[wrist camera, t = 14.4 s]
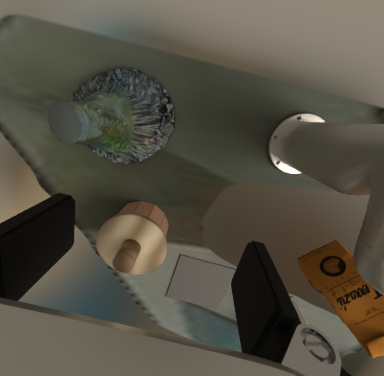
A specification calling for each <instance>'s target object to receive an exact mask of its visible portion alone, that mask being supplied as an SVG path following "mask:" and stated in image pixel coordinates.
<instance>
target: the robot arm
mask: <svg viewBox="0 0 384 376" xmlns="http://www.w3.org/2000/svg"><path fill="white" fill-rule="evenodd" d="M297 117H298V119H297ZM274 136H276V137H275V138H274ZM268 152H269V156H270V159H271V161H272V163H273V164H274V165H275V166H276V167H277V168H278V169H280V170H281V171H283V172H286V173H290V174H300V173H303V174H304V175H306V176H308V177H310V178H312V179H314V180H316V181H318V182H320V183H321V184H323V185H325V186H327V187H329V188H331V189H333V190H335V191H337V192H340V193H343V194H347V195H355V196H361V195H370V197H369V201H368V203H367V210H366V213H365V216H364V219H363V222H362V226H361V229H360V232H359V235H358V238H357V241H356V245H355V249H354V255H353V259H354V264H355V268H356V270H357V271H358V273H359V274H360V276H361V277H362V278H363V279H364V280H365V281H366V282H367V283H368V284H369V285H370V286H372V287H373V288H374V289H375V290H377V291H378V292H380V293H381V294H383V295H384V124H356V123H329V122H325V121H324V120H323V119H322V118H320V117H318V116H316V115H313V114H306V113H303V114H296V115H293V116H291V117H288V118H286V119H285V120H284V121H282V122H281V123H280V124H279V125H278V126H277V127H276V128H275V130H274V131H273V133H272V135H271V137H270V140H269V146H268ZM276 162H277V163H276ZM74 225H75V200H74V199H73V198H72V196H70V195H66V194H62V193H58V194H56V195H54V196H52V197H50V198H48V199H46V200H44V201H42V202H41V203H39V204H37V205H35V206H33V207H31V208H29V209H27V210H25V211H23V212H21V213H19V214H17V215H16V216H14V217H12V218H10V219H8V220H6V221H4V222H2V223H1V224H0V376H351V375H350V374H348V373H347V372H346V371H345V370H344V369H343V368H342V367H341V358H340V355H339V353H338V350H337V349H336V347H335V346H334V344H333V343H332V342H331V340H330V339H329V338H328V337H327V336H326V335H325V334H324V333H323V332H321V331H320V330H318V329H317V328H315V327H314V326H311V325H309V324H304V323H303V324H302V323H301V321H300V319H299V317H298V313H297V311H296V309H295V307H294V305H293V303H292V301H291V299H290V297H289V295H288V293H287V291H286V288H285V287H284V284H283V283H282V280H281V278H280V276H279V274H278V272H277V270H276V268H275V266H274V264H273V261H272V259H271V257H270V255H269V253H268V251H267V249H266V247H265V245H264V244H263V243H260V242H255V241H252V242H251V243H248V244H247V246H246V248H245V250H244V253H243V255H242V257H241V260H240V262H239V264H238V267H237V269H236V271H235V274H234V276H233V278H232V282H231V288H232V294H233V300H234V306H235V312H236V318H237V324H238V330H239V336H240V342H241V349H242V353H241V352H237V351H233V350H229V349H225V348H221V347H217V346H213V345H209V344H205V343H200V342H196V341H192V340H187V339H183V338H179V337H175V336H170V335H166V334H162V333H157V332H153V331H148V330H144V329H140V328H135V327H131V326H127V325H122V324H118V323H113V322H109V321H104V320H100V319H96V318H91V317H87V316H82V315H78V314H73V313H68V312H64V311H60V310H55V309H50V308H46V307H41V306H37V305H33V304H28V303H23V302H19V301H18V300H19V299H20V298H21V297H22V296H23V295H24V294H25V293H26V292H27V291H28V290H29V289H30V288H31V287H32V286H33V285H34V284H35V283H36V282H37V281H38V280H39V279H40V278H41V277H42V276H43V275H44V274H45V273H46V272H47V271H48V270H49V269H50V268H51V267H52V266H53V265H54V264H55V263H56V262H57V261H59V259H61V257H62V256H64V255H65V253H67V252H68V250H70V249H71V247H72V246H73V243H74Z"/></svg>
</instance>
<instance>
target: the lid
mask: <svg viewBox="0 0 384 376" xmlns="http://www.w3.org/2000/svg"><path fill="white" fill-rule="evenodd" d="M96 246H97V250H98V252H99V254H100V256H101V257H102V259H103V260H104V261H105V262H106V263H107V264H108V265H109V266H111V267H112V268H114V269H115V270H117V271H120V272H123V273H126V274H133V275H139V274H145V273H148V272H151V271H153V270H155V269H156V268H157V267H159V266H160V265H161V263H162V262H163V260H164V258H165V256H166V252H167V239H166V236H165V234H164V232H163V230H162V229H161V228H160V226H159V225H158V224H157V223H155V222H154V221H153V220H151V219H150V218H148V217H145V216H143V215H140V214H135V213H123V214H119V215H116V216H113V217H111V218H110V219H108V220H107V221H106V222H105V223H104V224H103V225H102V227H101V228H100V230H99V231H98V234H97V237H96Z"/></svg>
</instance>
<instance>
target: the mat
mask: <svg viewBox="0 0 384 376" xmlns="http://www.w3.org/2000/svg"><path fill="white" fill-rule="evenodd" d="M235 271H236V269H233V268H229V267H226V266H222V265H218V264H215V263H211V262H207V261H203V260H200V259H196V258H192V257H188V256H185V255H180V258H179V261H178V264H177V267H176V269H175V272H174V275H173V278H172V281H171V283H170V286H169V289H168V292H167V295H166V297H169V298H173V299H177V300H181V301H185V302H189V303H193V304H197V305H201V306H205V307H209V308H213V309H217V307H218V305H219V303H220V301H221V299H222V297H223V295H224V293H225V291H226V289H227V287H228V285H229V283H230V281H231V279H232V277H233V275H234V273H235Z"/></svg>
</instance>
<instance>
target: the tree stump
mask: <svg viewBox="0 0 384 376" xmlns="http://www.w3.org/2000/svg"><path fill="white" fill-rule="evenodd" d="M73 96H74V99H73V100H72V101H64V100H58V101H55V102H53V103H52V104H51V106H50V108H49V112H48V121H49V125H50V129H51V131H52V133H53V134H54V135H55V136H56V137H57V138H58V139H59V140H60V141H61V142H63V143H66V144H83V145H88V146H89V147H90V148H91V149H92V150H93V152H96V153H97V155H98V156H104V157H105V158H107V159H108V160H110V161H112V162H115V163H116V162H118V163H119V162H120V163H121V162H122V163H123V164H126V165H127V164H128V163H129V162H131V161H132V162H137V161H139V162H140V161H141V160H143V159H146V158H148V157H150V156H151V155H153V154H154V153H155V152H156V151H158V150H160V149H161V148H163V147H164V146H165V145H166V143H167V141H168V139H169V137H170V135H171V133H172V131H173V129H174V120H175V115H174V107H173V104H172V102H171V99H170V97H169V94H168V93H167V91H166V90H165V88H164V87H163V86H162V85H161V84H160V83H159V82H158V81H157V80H155V79H154V78H152V77H150V76H148V75H146V74H144V73H142V72H141V71H139V70H135V69H128V68H118V69H112V70H109V71H108V72H104V73H101V74H99V75H96V76H95V77H93V79H92V80H89V81H87V82H86V83H81V84H80V87H79V90H78V91H73ZM158 106H159V107H160V110H158V109H157V107H158ZM159 111H161V113H159Z"/></svg>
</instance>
